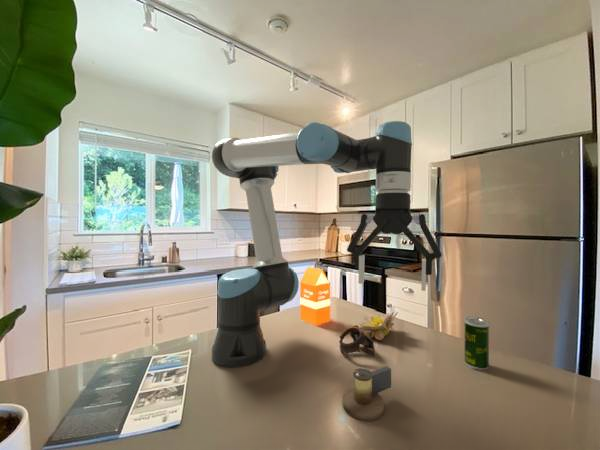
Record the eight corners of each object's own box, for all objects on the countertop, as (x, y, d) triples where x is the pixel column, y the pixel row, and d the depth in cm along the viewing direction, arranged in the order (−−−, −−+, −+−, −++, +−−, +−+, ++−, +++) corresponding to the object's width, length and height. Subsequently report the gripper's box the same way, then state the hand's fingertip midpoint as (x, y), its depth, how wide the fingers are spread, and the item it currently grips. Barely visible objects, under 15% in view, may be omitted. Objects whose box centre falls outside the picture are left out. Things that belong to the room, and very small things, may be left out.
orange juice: (314, 315, 110) (314, 265, 110) (330, 321, 104) (330, 268, 103) (299, 319, 105) (299, 267, 105) (315, 326, 99) (315, 270, 98)
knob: (362, 407, 53) (362, 380, 53) (349, 396, 56) (349, 371, 56) (396, 392, 57) (396, 367, 57) (382, 383, 61) (382, 359, 61)
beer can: (475, 359, 74) (475, 315, 74) (494, 369, 69) (494, 322, 69) (459, 361, 73) (459, 317, 73) (477, 372, 68) (477, 324, 68)
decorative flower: (369, 317, 102) (374, 293, 100) (398, 332, 95) (405, 306, 93) (349, 333, 91) (354, 305, 88) (381, 350, 84) (387, 321, 82)
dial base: (336, 410, 54) (336, 402, 54) (352, 389, 61) (352, 382, 61) (375, 427, 50) (375, 418, 50) (388, 403, 56) (388, 395, 56)
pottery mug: (381, 363, 73) (368, 339, 72) (349, 375, 75) (335, 352, 74) (372, 334, 85) (361, 313, 83) (345, 345, 87) (333, 325, 85)
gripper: (335, 193, 64) (333, 283, 65) (457, 189, 53) (454, 297, 54) (344, 195, 71) (343, 277, 71) (454, 192, 60) (451, 288, 61)
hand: (391, 285), depth 63 cm, fingers open, 13 cm apart
